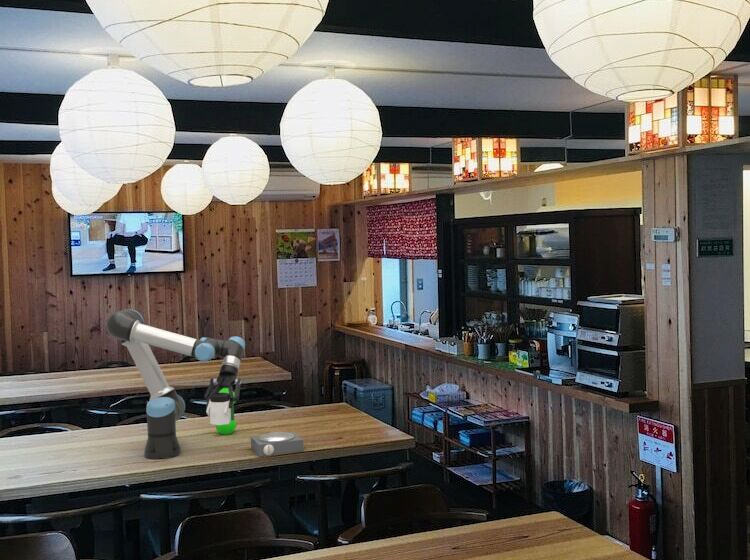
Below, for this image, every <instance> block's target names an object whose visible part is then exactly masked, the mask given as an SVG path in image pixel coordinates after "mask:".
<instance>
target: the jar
mask: <svg viewBox="0 0 750 560" xmlns="http://www.w3.org/2000/svg"><path fill="white" fill-rule="evenodd" d="M229 397H230V394H229V393H213V394H211V395H210V416H209V419H210V420H209V424H210V425H214V426H216V425H224V424H229V423H230V422H231V408H230V410H229V407H228V416H226V415H225V413H224V411H225V407H226V406H227V405H228V406H229V399H230V398H229Z"/></svg>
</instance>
